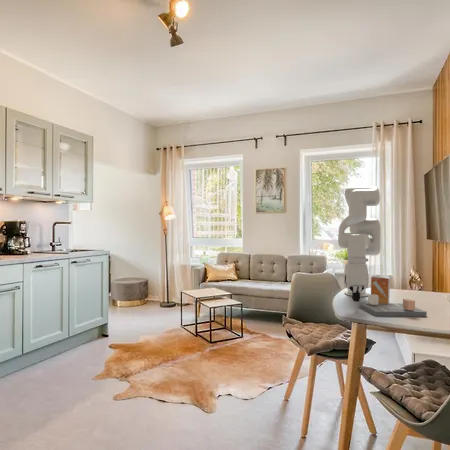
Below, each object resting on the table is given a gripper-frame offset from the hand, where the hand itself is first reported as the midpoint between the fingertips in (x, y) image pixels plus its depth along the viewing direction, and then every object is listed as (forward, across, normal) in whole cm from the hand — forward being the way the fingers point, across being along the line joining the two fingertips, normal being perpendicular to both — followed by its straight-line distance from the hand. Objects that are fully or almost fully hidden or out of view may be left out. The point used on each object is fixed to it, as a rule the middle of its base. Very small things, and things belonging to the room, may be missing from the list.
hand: (356, 300), depth 161 cm
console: (+4, -14, +5) cm, 15 cm away
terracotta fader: (+1, -19, +10) cm, 22 cm away
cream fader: (+1, -8, 0) cm, 8 cm away
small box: (+4, -18, -14) cm, 23 cm away
